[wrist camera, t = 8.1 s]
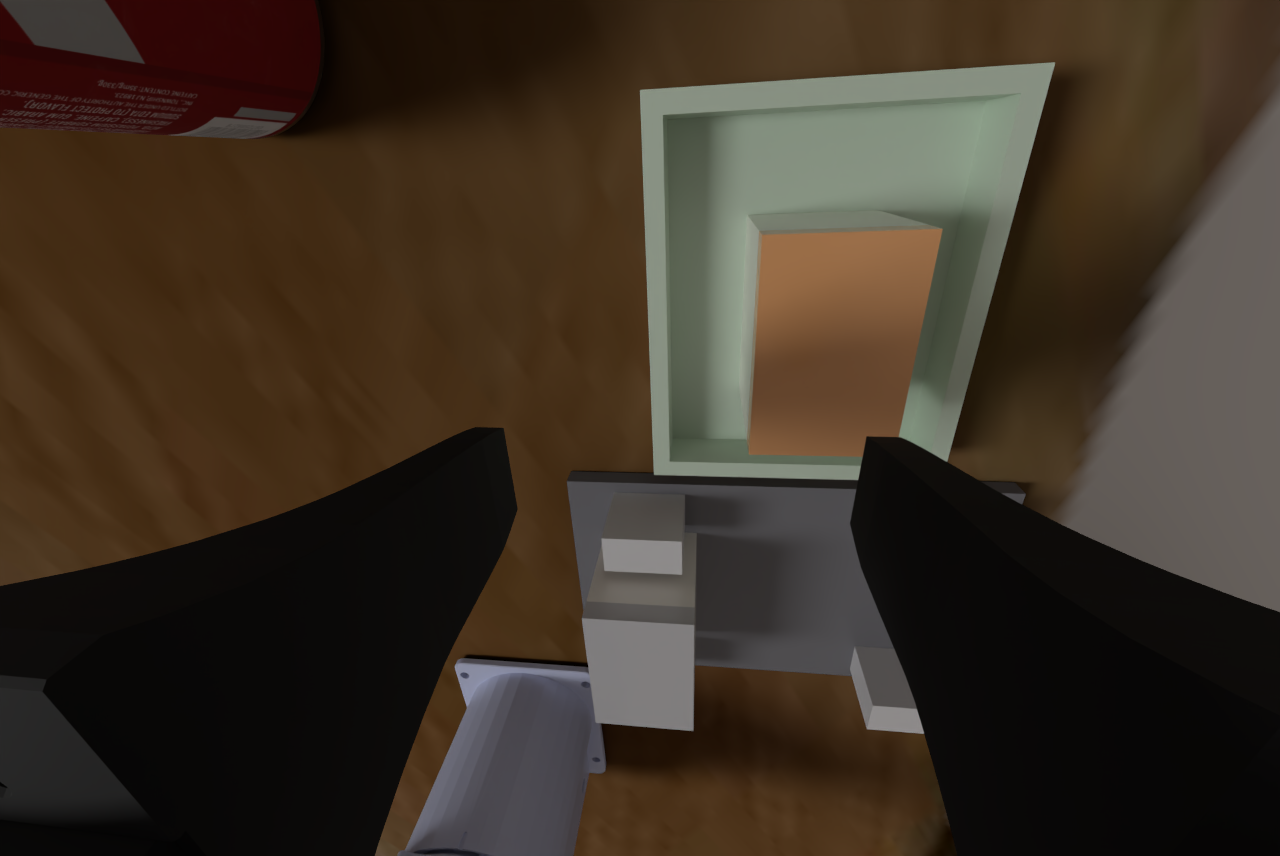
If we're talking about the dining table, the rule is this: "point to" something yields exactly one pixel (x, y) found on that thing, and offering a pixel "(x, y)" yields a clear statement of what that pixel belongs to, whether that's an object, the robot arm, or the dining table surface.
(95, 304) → the dining table surface
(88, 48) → the soda can
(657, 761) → the dining table surface
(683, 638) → the block
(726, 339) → the tray
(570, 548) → the dining table surface
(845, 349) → the block
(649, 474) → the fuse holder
